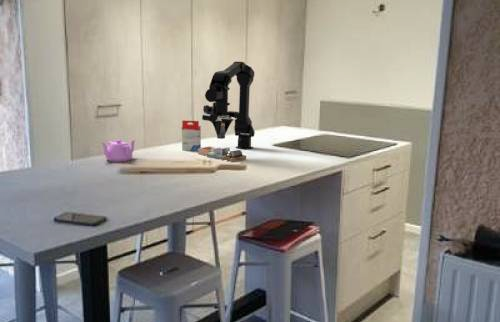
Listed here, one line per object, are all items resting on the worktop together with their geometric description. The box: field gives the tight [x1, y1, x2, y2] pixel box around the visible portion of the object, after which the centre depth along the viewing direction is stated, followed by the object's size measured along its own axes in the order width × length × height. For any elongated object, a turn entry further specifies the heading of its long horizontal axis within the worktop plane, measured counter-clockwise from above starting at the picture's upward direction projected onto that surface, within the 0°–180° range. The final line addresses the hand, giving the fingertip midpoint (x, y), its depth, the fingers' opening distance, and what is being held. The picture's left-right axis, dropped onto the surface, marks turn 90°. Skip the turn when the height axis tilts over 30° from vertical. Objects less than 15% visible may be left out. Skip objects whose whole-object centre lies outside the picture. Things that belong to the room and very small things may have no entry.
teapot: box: [100, 138, 137, 163], centre depth 232 cm, size 12×14×9 cm
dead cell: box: [216, 121, 226, 140], centre depth 242 cm, size 4×4×8 cm
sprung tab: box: [220, 146, 231, 156], centre depth 242 cm, size 5×1×3 cm, turn 138°
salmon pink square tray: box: [197, 146, 215, 157], centre depth 249 cm, size 7×7×3 cm
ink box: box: [181, 120, 202, 152], centre depth 257 cm, size 8×5×15 cm, turn 84°
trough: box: [221, 154, 247, 162], centre depth 238 cm, size 10×6×2 cm, turn 138°
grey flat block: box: [206, 146, 226, 160], centre depth 243 cm, size 10×9×4 cm
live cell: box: [226, 149, 243, 158], centre depth 238 cm, size 7×4×4 cm, turn 138°
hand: (221, 134), depth 242 cm, fingers closed on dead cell, 4 cm apart
